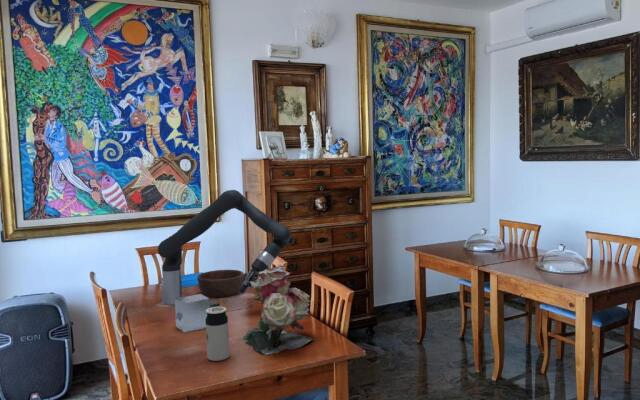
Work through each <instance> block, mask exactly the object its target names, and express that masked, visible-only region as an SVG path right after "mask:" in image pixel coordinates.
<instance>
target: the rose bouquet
mask: <svg viewBox="0 0 640 400" xmlns="http://www.w3.org/2000/svg"><path fill="white" fill-rule="evenodd" d="M256 273H257V274H258V276H259V281H252V282H250V283H251V286H252V287H251V288H252V289H253V290H254V291H255V293H256V295H257V296H255V297H250V298H249V299H250V300H254V301H259V302H261V303H260V305H263V306H262V310H261V312H260V313H261V314H260V315H261V318H259V319H258V318H255V320H257V326H255V327H253V328H251V329H249V330H247V332H246V334H245V335H244V336H243V337H242V340H243V342H244V343H245V344H246V345H249V346H250V347H252V348H253V349H254V350H255V351H257V352H259V353H261V354H263V355H265V356H268V355H272V354H276V355H278V353H280V352H282V351H284V350H296V349H299V348H302V347H303V346H304V345H306V344H308V343H309V342H311V341H312V342H313V341H314V339H313V337H310V336H305V335H302V334H298V333H297V332H296V331H295V328H297V329H299V331H300V332H302V333H305V327H304V325H302V324H300V322H299V320H304V319H306V317H309V316H310V313H309V311H310V310H311V309H310V308H309V306H310V302H311V300H310V299H309V298H310V297H311V296H310V295H309V294H307V293H306V292H304V291H302V290H301V289H300V288H297V287H290V286H291V281H288V278H289V277H290V275H291V272H288V271H286V267H284V265H282V264H279V265H278V266H276V267H269V268H268V269H265V271H261V272H259V273H258V272H256ZM247 307H248V308H253V307H254V305H253V304H250V305H249V304H248V306H247ZM290 327H291V328H292V329H293V330H292V332H287V331H284V330H288V329H289V328H290ZM279 341H280V342H279Z"/></svg>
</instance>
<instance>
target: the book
mask: <svg viewBox="0 0 640 400" xmlns="http://www.w3.org/2000/svg"><path fill="white" fill-rule="evenodd" d="M202 273H204V272H195V273H187V274H181V279H182V288H186V287H188V288H189V287H193V286H194V287H195V286H199V284H198V279H197V277H198V275H200V274H202ZM161 284H162V285H163V277H161Z"/></svg>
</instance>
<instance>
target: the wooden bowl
mask: <svg viewBox="0 0 640 400" xmlns="http://www.w3.org/2000/svg"><path fill="white" fill-rule="evenodd" d="M244 274H245V272H244V271H242V270H238V269H237V270H236V269H218V270H210V271H205V272H203V273H202V274H200V275H198V277H197V279H198V284H199V285H198V288H199V290H200V292H201V294H202V295H204V296H205V297H207V298H225V297H230V296H235V295H237V294H239V293H240V292H239V289H240V288H241V286H242V285H243V282H242V280H243V277H244Z"/></svg>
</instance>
